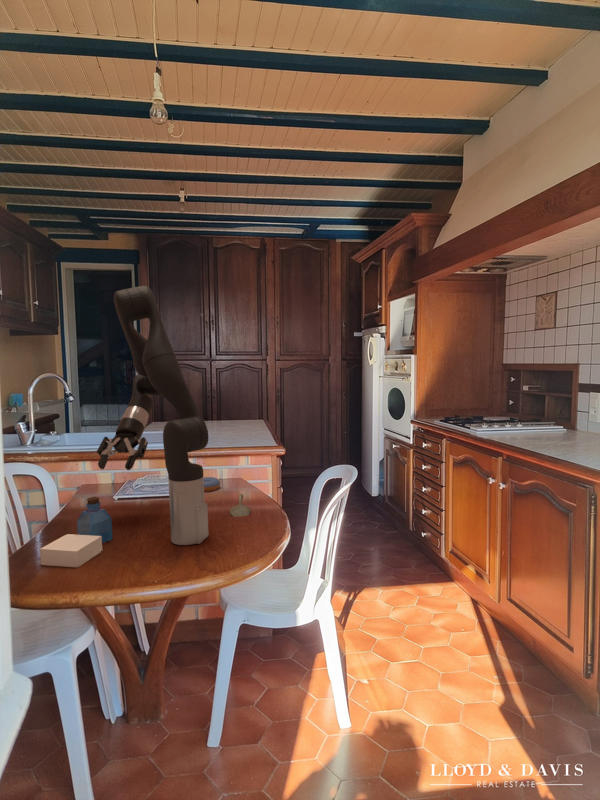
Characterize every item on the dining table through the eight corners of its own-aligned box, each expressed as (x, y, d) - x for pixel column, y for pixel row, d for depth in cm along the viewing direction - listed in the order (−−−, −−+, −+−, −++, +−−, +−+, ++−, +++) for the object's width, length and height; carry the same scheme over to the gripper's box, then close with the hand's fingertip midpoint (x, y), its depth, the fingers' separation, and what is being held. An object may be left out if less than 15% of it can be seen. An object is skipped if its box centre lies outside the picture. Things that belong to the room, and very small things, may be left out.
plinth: (102, 551, 127) (101, 536, 126) (77, 567, 117) (76, 551, 116) (68, 548, 129) (67, 534, 128) (41, 564, 119) (40, 548, 118)
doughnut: (220, 484, 191) (219, 472, 190) (220, 492, 181) (218, 480, 180) (195, 488, 190) (193, 476, 189) (193, 496, 180) (191, 484, 179)
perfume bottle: (112, 539, 135) (110, 497, 134) (92, 547, 129) (89, 503, 128) (98, 535, 138) (96, 494, 137) (78, 543, 133) (75, 499, 132)
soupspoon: (229, 521, 151) (250, 521, 152) (229, 510, 151) (251, 510, 152) (232, 498, 173) (250, 498, 174) (232, 488, 173) (250, 488, 173)
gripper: (106, 416, 151) (85, 460, 141) (149, 416, 148) (130, 461, 138) (117, 430, 157) (98, 474, 147) (158, 431, 154) (141, 475, 144)
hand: (113, 468), depth 142 cm, fingers open, 8 cm apart
